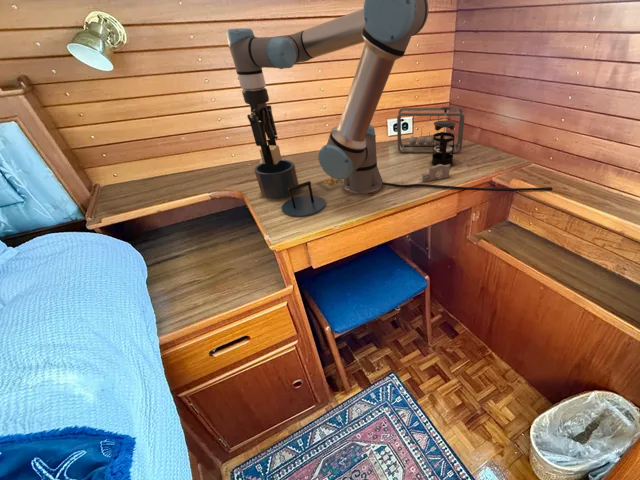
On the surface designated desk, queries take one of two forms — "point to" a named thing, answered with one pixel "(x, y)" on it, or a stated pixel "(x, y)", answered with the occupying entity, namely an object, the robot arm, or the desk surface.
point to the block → (273, 154)
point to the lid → (303, 203)
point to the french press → (443, 142)
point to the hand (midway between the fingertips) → (272, 160)
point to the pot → (276, 179)
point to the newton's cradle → (429, 139)
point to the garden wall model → (433, 170)
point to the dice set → (331, 181)
